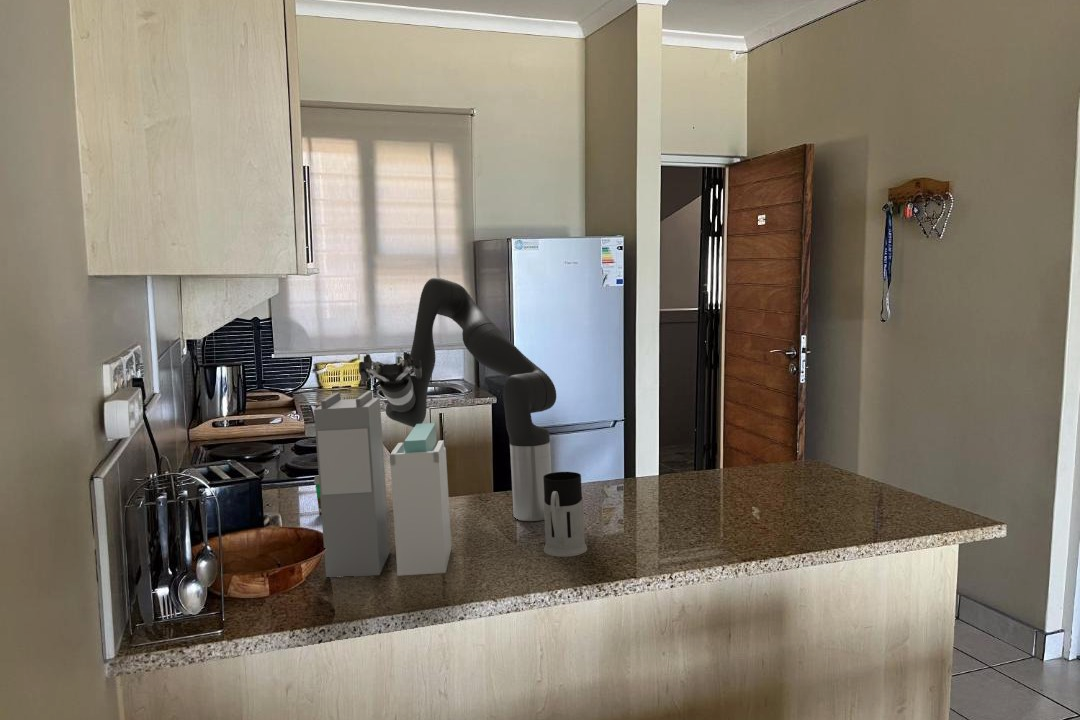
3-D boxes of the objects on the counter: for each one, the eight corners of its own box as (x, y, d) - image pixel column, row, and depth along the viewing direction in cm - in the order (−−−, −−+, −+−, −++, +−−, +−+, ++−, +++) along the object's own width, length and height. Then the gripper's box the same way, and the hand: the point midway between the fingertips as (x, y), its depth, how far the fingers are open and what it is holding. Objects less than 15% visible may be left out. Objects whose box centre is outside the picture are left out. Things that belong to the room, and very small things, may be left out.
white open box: (451, 547, 167) (445, 437, 165) (445, 572, 152) (438, 451, 150) (407, 550, 166) (400, 440, 164) (397, 575, 151) (389, 454, 149)
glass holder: (590, 543, 165) (587, 471, 164) (578, 566, 151) (574, 488, 150) (548, 542, 167) (545, 470, 166) (532, 565, 153) (528, 487, 152)
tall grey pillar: (389, 552, 165) (379, 390, 162) (379, 575, 152) (367, 398, 149) (340, 555, 165) (329, 392, 162) (325, 578, 152) (313, 401, 149)
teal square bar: (436, 441, 172) (435, 422, 172) (426, 460, 152) (425, 439, 152) (417, 442, 172) (416, 423, 171) (405, 462, 152) (404, 441, 151)
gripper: (368, 373, 200) (355, 343, 185) (425, 369, 201) (417, 339, 186) (367, 401, 197) (354, 373, 182) (426, 397, 197) (417, 369, 183)
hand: (386, 356), depth 184 cm, fingers open, 8 cm apart
